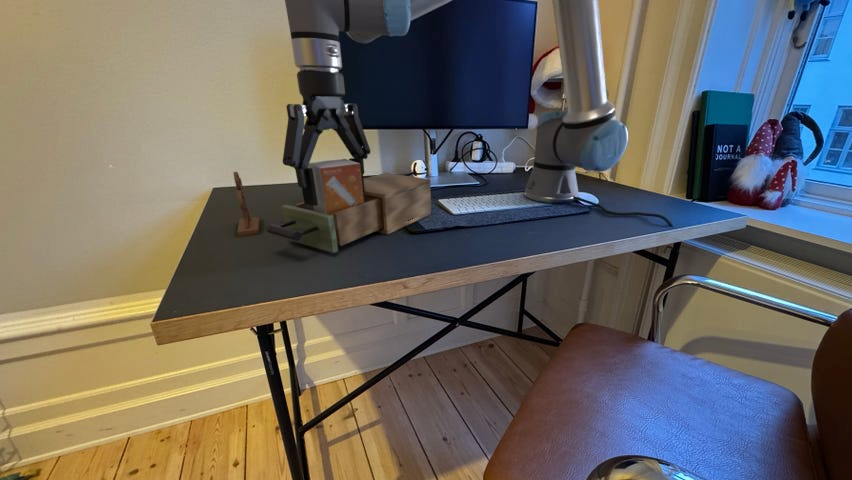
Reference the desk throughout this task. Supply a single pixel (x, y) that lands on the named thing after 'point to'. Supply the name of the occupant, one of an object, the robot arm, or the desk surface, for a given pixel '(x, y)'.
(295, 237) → the drawer
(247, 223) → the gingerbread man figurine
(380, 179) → the cabinet
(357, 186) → the small box
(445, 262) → the desk surface
